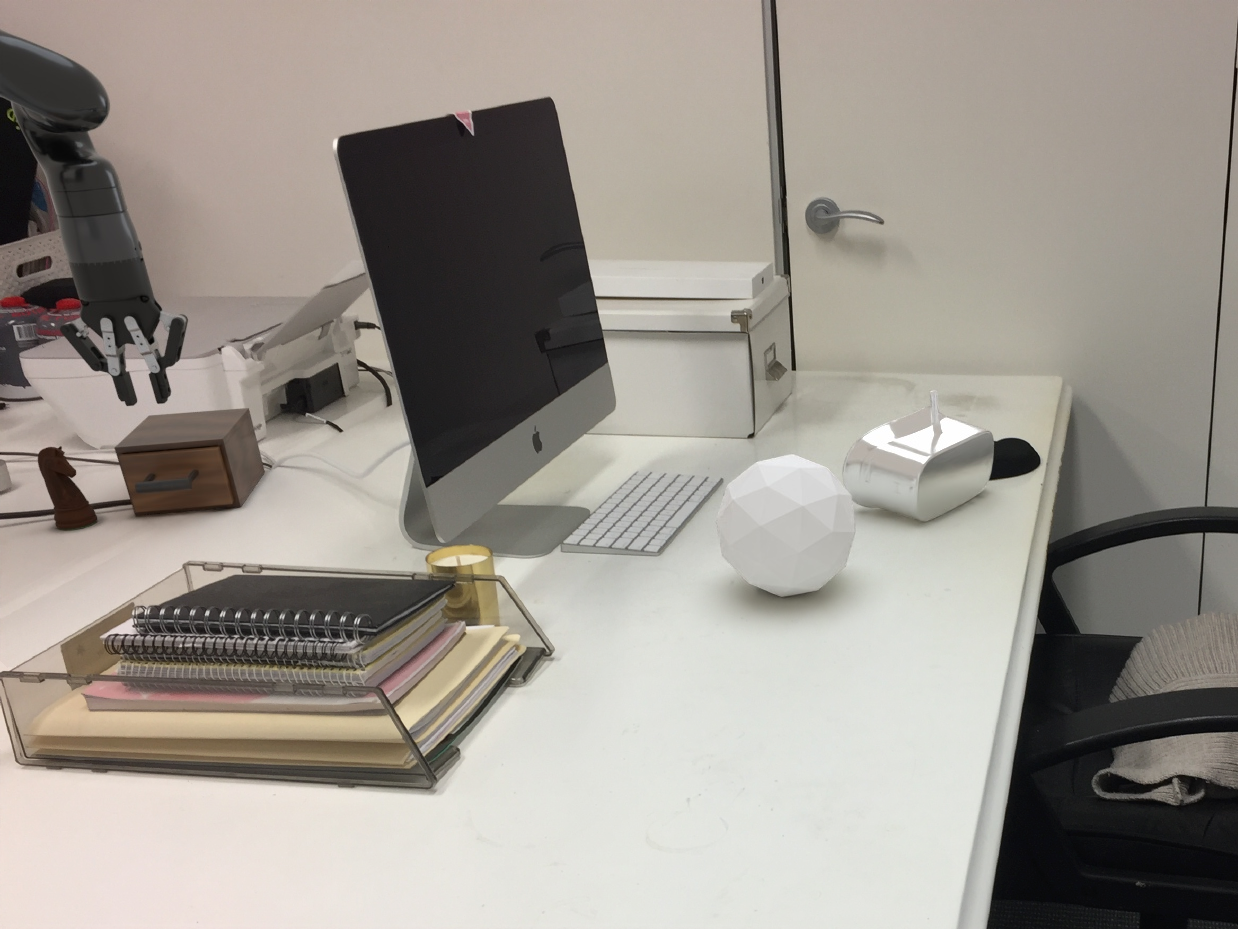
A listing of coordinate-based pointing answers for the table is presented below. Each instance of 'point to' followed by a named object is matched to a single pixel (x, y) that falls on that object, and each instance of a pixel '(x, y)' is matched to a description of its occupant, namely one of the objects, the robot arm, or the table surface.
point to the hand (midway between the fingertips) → (147, 402)
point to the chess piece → (64, 491)
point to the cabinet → (199, 431)
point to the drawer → (176, 478)
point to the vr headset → (919, 464)
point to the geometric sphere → (786, 525)
